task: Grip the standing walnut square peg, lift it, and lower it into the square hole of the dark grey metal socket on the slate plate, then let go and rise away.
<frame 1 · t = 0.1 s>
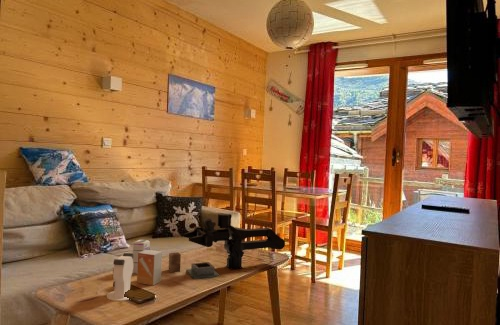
hand: (185, 237, 170), 17 cm above the table, fingers open, 9 cm apart
syrup box: (140, 272, 169), on the table
small box: (149, 282, 156), on the table
socket: (202, 273, 170), on the table
white piece: (122, 295, 141), on the table
peg: (174, 270, 173), on the table
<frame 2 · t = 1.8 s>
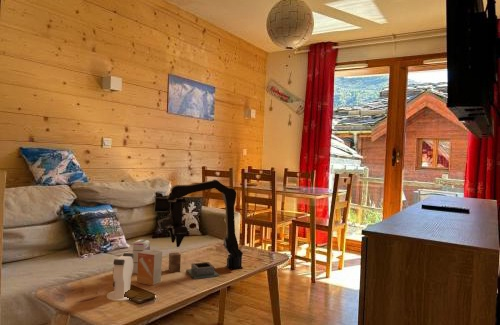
hand: (175, 244, 173), 12 cm above the table, fingers open, 9 cm apart
nothing on the table moved.
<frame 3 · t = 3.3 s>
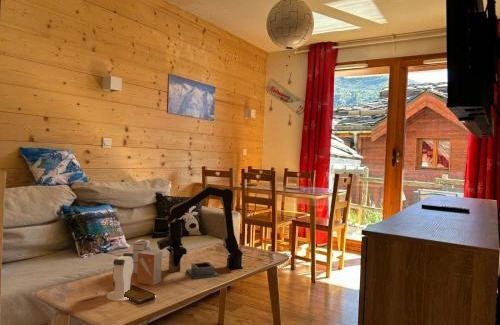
hand: (174, 265, 173), 3 cm above the table, fingers closed on peg, 4 cm apart
peg: (174, 270, 173), on the table, touching gripper
everything else where it was.
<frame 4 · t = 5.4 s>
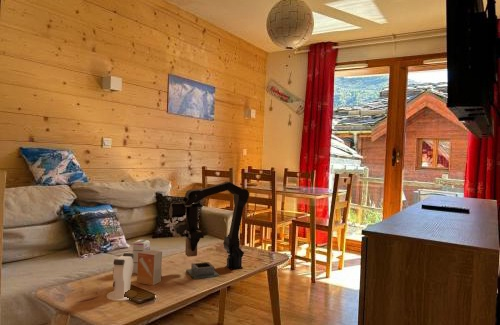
hand: (191, 249, 171), 11 cm above the table, fingers closed on peg, 4 cm apart
peg: (191, 255, 171), point 8 cm above the table, touching gripper
everything else where it was.
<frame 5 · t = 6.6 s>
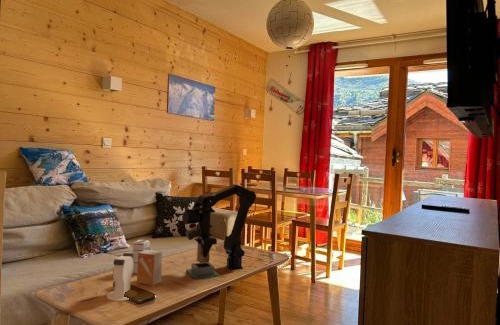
hand: (203, 255, 170), 8 cm above the table, fingers closed on peg, 4 cm apart
peg: (203, 261, 170), point 6 cm above the table, touching gripper
everything else where it was.
when the fingers open (5 cm above the table, at t = 7.7 s): peg drops 2 cm, resting on socket.
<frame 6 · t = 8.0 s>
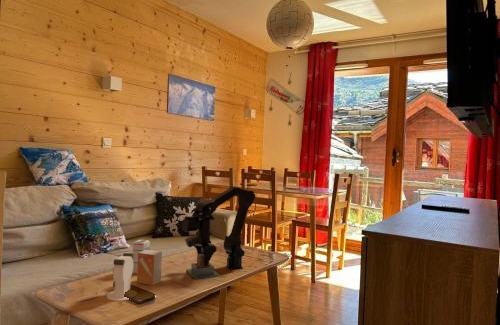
hand: (202, 263, 170), 5 cm above the table, fingers open, 8 cm apart
peg: (202, 272, 170), point 1 cm above the table, touching socket
everything else where it was.
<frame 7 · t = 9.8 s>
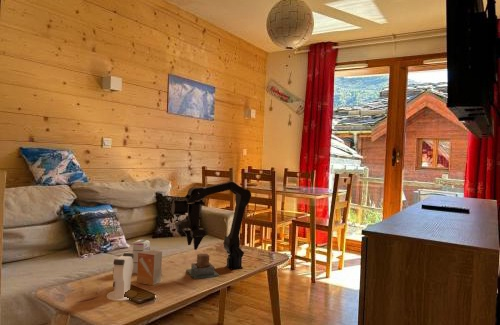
hand: (192, 247, 171), 12 cm above the table, fingers open, 9 cm apart
nothing on the table moved.
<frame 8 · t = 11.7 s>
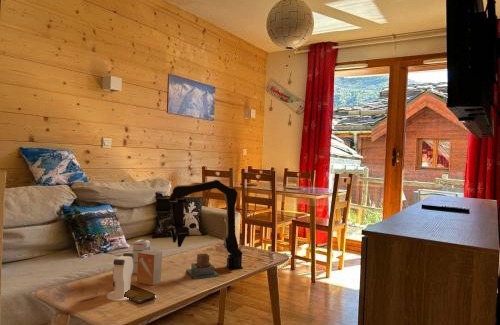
hand: (176, 244, 174), 12 cm above the table, fingers open, 9 cm apart
nothing on the table moved.
at the end: peg 0.0 cm off-centre on the socket, point 0.8 cm above the socket's base; peg tilted 0°; the gripper is holding nothing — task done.
